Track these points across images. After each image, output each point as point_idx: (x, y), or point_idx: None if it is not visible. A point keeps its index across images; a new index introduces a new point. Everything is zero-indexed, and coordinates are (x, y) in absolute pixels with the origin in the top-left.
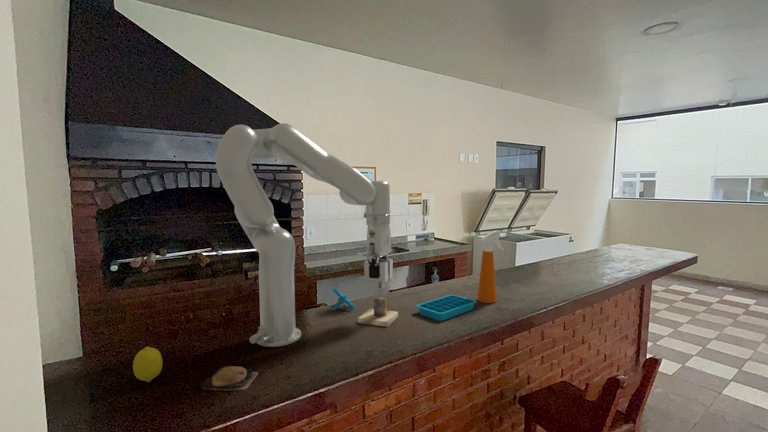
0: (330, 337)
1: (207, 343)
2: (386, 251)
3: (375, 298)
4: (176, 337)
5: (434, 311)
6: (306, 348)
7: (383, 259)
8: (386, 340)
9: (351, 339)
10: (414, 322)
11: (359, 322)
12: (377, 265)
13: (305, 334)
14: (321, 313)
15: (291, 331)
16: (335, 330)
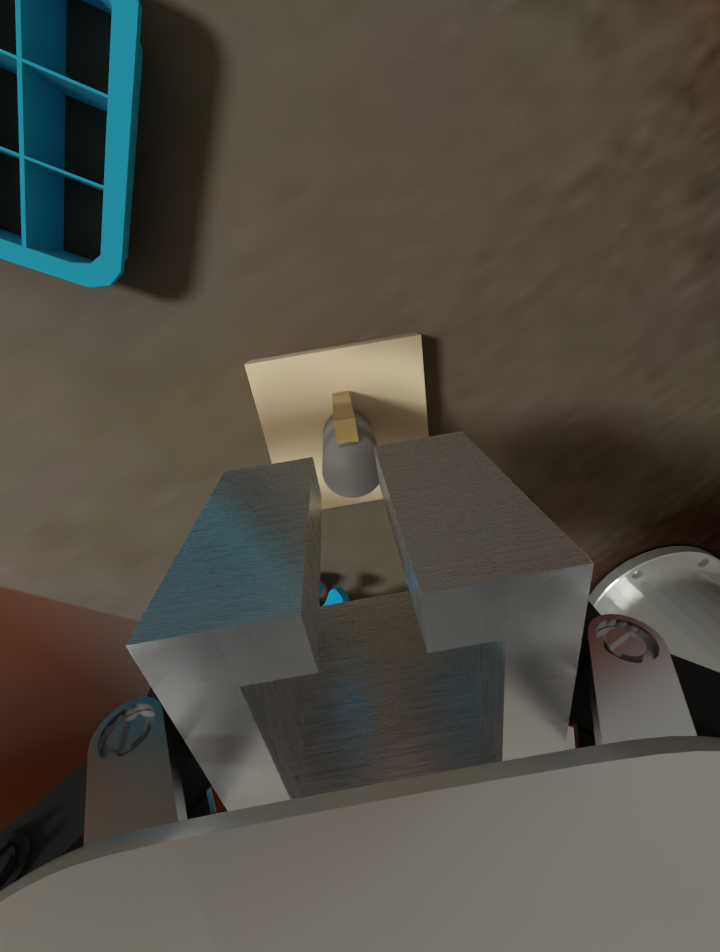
0: (605, 478)
1: None
2: (426, 932)
3: (367, 482)
4: None
5: (119, 65)
6: (711, 487)
7: (262, 731)
8: (577, 241)
9: (604, 398)
10: (279, 218)
11: None
12: (591, 621)
13: (600, 561)
14: None
15: (691, 581)
16: (536, 504)
